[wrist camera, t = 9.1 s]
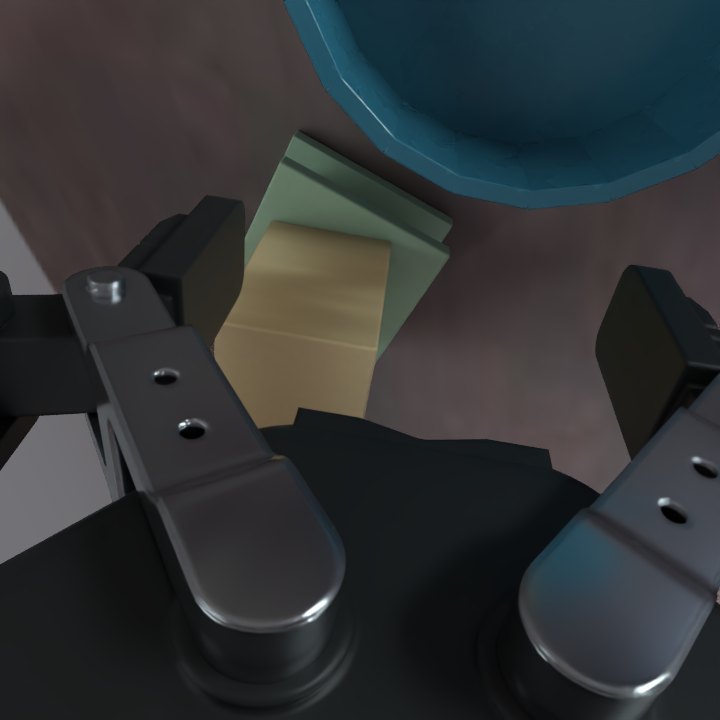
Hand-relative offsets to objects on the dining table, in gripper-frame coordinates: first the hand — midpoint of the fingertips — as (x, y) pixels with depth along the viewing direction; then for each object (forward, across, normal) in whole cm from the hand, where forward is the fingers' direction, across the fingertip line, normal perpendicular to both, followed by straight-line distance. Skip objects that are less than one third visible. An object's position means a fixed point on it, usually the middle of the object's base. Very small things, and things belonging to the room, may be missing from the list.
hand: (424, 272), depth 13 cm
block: (+8, +3, +5) cm, 11 cm away
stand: (+12, +3, +6) cm, 14 cm away
